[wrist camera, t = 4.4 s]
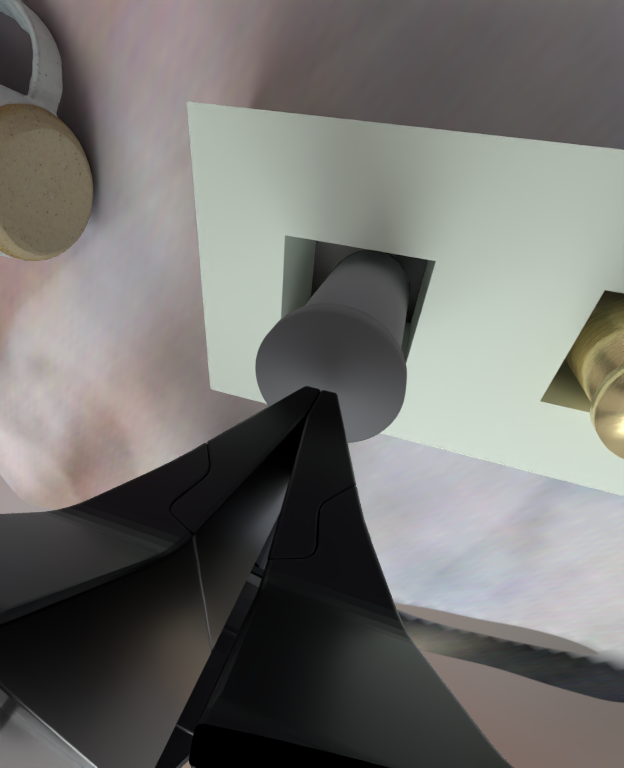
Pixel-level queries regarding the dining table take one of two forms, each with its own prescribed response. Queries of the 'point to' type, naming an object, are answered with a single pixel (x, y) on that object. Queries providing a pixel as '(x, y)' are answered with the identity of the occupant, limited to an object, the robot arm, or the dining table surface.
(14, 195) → the ceramic mug
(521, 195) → the block
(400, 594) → the dining table surface
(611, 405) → the brass plug
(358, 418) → the graphite plug
